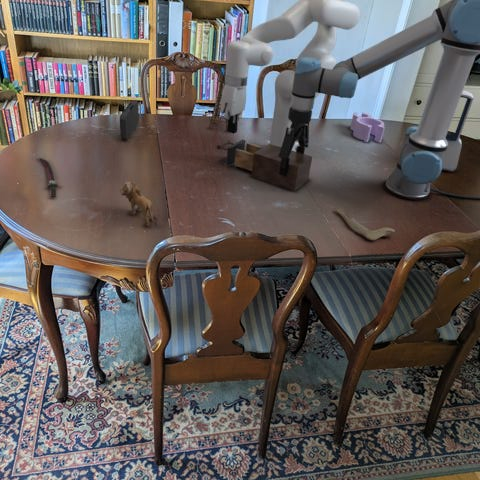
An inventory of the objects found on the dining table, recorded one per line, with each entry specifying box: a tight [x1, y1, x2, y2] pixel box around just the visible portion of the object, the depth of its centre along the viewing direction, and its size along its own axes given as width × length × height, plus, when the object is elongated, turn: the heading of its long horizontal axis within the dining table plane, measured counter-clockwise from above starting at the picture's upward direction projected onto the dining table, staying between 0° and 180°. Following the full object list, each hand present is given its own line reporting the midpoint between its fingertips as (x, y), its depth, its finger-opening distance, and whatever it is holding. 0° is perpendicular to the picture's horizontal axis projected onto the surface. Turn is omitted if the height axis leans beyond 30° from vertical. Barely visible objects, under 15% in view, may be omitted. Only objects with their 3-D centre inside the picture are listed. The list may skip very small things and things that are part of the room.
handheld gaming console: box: [119, 99, 140, 141], centre depth 189 cm, size 23×3×10 cm, turn 178°
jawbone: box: [334, 207, 396, 241], centre depth 142 cm, size 9×20×2 cm, turn 50°
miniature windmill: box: [208, 59, 228, 132], centre depth 198 cm, size 9×8×30 cm
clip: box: [349, 112, 386, 143], centre depth 214 cm, size 20×12×7 cm, turn 11°
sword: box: [40, 158, 59, 198], centre depth 151 cm, size 31×3×1 cm, turn 26°
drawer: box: [216, 139, 264, 172], centre depth 170 cm, size 22×11×7 cm, turn 59°
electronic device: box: [441, 90, 474, 173], centre depth 182 cm, size 12×8×30 cm, turn 71°
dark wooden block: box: [250, 143, 313, 192], centre depth 165 cm, size 17×12×9 cm
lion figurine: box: [119, 181, 159, 227], centre depth 134 cm, size 15×5×9 cm, turn 50°
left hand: (231, 132), depth 169 cm, fingers closed
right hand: (290, 169), depth 163 cm, fingers closed on dark wooden block, 12 cm apart
